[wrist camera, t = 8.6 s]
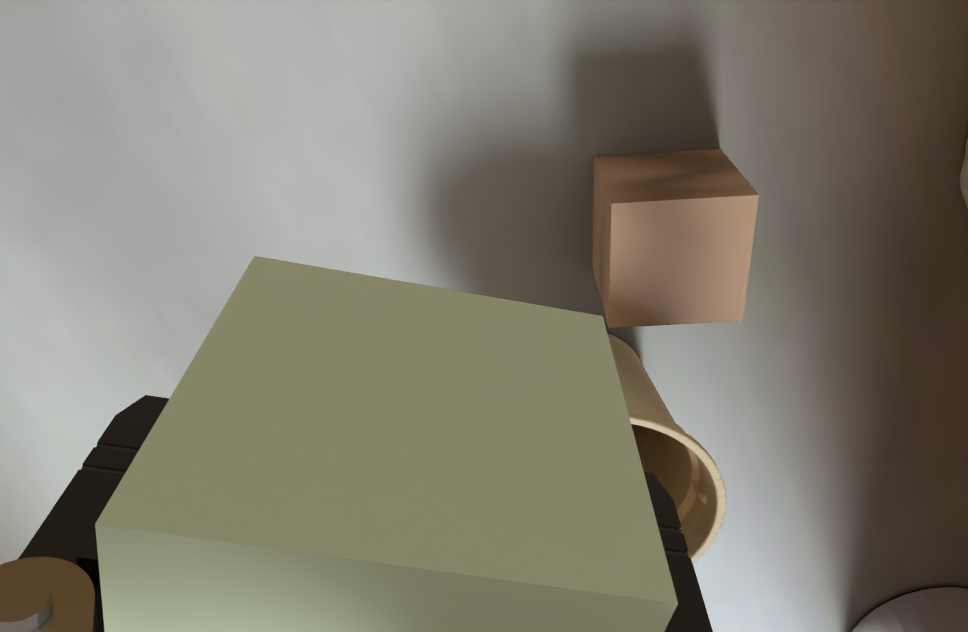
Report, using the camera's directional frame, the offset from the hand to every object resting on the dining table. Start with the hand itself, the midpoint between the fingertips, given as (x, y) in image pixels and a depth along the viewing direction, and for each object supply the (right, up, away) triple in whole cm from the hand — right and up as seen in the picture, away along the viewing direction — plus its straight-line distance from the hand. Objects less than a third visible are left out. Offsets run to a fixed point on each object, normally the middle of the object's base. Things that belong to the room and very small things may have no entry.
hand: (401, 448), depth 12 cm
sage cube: (0, 0, +1) cm, 1 cm away
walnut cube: (+8, +6, +20) cm, 23 cm away
